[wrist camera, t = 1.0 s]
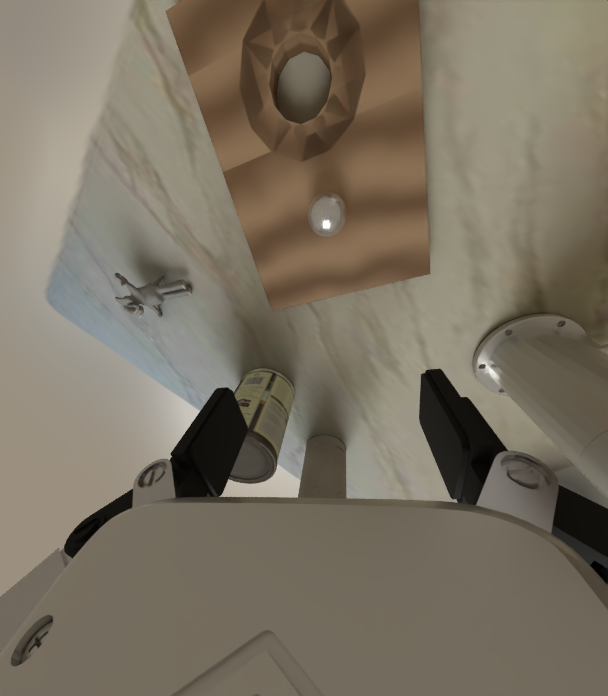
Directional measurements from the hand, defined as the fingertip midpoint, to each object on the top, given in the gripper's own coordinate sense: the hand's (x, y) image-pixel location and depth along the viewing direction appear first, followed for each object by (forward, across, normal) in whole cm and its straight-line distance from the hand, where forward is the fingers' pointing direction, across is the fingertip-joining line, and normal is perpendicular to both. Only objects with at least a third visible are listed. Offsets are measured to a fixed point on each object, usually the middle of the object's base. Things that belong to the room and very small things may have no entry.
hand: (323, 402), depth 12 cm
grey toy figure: (+24, +25, -4) cm, 35 cm away
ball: (+19, -1, -8) cm, 21 cm away
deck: (+23, 0, -13) cm, 27 cm away
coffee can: (+24, +14, +17) cm, 32 cm away
